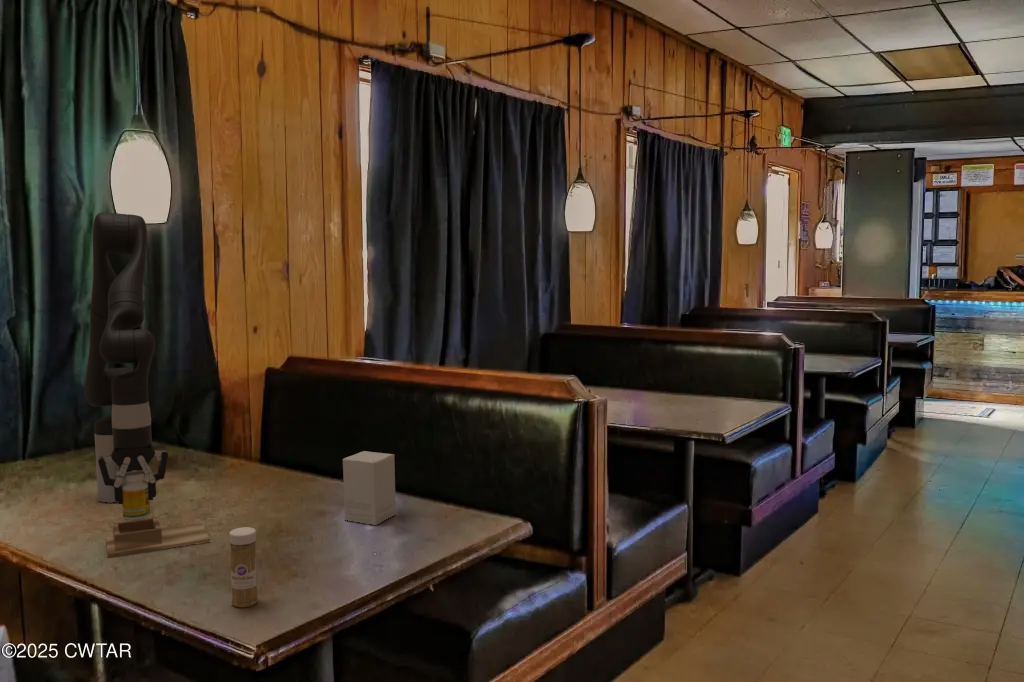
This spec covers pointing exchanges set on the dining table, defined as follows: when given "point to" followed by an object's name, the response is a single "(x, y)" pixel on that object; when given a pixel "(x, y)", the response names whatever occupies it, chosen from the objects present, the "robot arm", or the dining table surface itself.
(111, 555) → the wooden stand
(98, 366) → the robot arm
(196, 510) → the dining table surface
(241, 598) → the sprinkles bottle
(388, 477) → the supplement box
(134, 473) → the supplement bottle
